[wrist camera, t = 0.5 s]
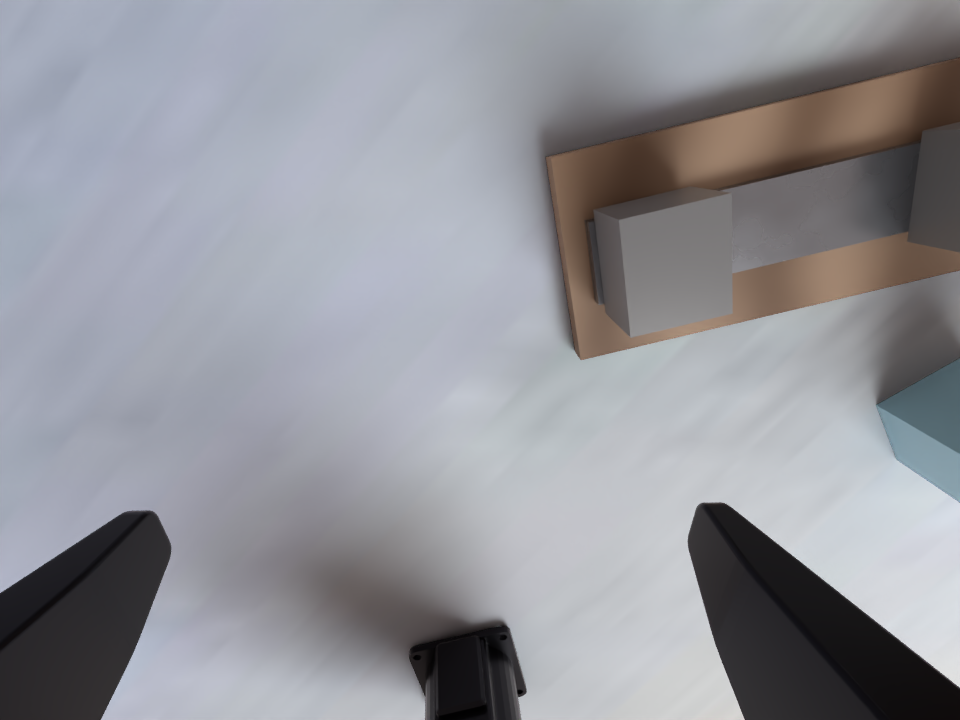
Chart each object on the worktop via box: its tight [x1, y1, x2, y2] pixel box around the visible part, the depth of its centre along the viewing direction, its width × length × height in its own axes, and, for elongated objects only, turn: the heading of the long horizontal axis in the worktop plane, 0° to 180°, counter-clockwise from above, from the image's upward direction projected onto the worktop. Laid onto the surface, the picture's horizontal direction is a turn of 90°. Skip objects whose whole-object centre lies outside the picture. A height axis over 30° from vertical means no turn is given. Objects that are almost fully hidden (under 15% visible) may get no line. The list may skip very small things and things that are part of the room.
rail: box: [584, 140, 921, 305], centre depth 21 cm, size 18×4×1 cm, turn 102°
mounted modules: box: [593, 122, 960, 338], centre depth 19 cm, size 18×4×3 cm, turn 102°
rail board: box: [546, 57, 960, 360], centre depth 22 cm, size 20×9×1 cm, turn 102°
